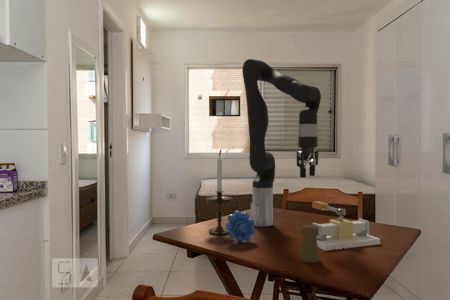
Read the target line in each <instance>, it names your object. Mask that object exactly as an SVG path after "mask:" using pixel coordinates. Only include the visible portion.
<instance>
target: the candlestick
mask: <svg viewBox="0 0 450 300" xmlns="http://www.w3.org/2000/svg"><path fill="white" fill-rule="evenodd" d="M221 154H222V149H220V150H219V153H218V159H217V160H216V161H217V163H216V164H217V167H216V169H217V172H216V174H217V175H216V176H217V177H216V178H217V180H216V181H217V182H216V183H217V186H216V189H217V190H216V191H214V193H216V195H214V196H207V197H206V202H208V203H214V204H216V205H217V212H216V218H217V219H216V222H217V226H216V227H213V228H209V229H208V234H209V235H211V236H227V235H229V231H231V230H228V229H227V228H226V227H223V226H222V222H223V219H222V217H223V216H224V213H223V212H222V205H223V204H225V203H226V204H227V203H231V202H233V197H232V196H225V195H223V193H224V192H225V191H223V188H222V187H223V185H222V184H223V159H222V158H221Z"/></svg>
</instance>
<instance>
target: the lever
mask: <svg viewBox="0 0 450 300" xmlns="http://www.w3.org/2000/svg"><path fill="white" fill-rule="evenodd" d="M311 205H312V206H311V207H312V208H313V209H316V210H320V211H330V212H334V213H336V215H337V216H339V215H343V216H346V214H347V213H346V208H341V207H340V208H337V207H333V206H329V203H326V202H324V201H319V200H317V201H316V200H314V201H313V200H312V202H311Z"/></svg>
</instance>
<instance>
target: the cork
mask: <svg viewBox="0 0 450 300" xmlns="http://www.w3.org/2000/svg"><path fill="white" fill-rule="evenodd" d="M301 234H302V242H301V250H300V256H299V259H300V261H302V262H305V263H318V262H320V255H319V254H320V253H319V248H318V246H317V238H316V236H317V234H318V228H317V227H316V226H314V225H312V224H304V225H302V227H301Z"/></svg>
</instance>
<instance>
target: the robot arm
mask: <svg viewBox="0 0 450 300" xmlns="http://www.w3.org/2000/svg"><path fill="white" fill-rule="evenodd" d="M241 72H242V78H243V84H244V89H245V90H244V91H245V97H246V108H247V111H246V113H247V120H248V135H249V165H250V168H251V169H252V171H253V172H254V173H256V176H255V177H254V179H253V180H252V202H251V203H250V219H253V220H254V222H255V225H254V226H255V227H261V228H263V227H271V226H273V224H274V222H273V221H274V219H273V217H274V211H273V210H274V208H273V207H274V203H273V202H274V200H273V199H274V198H273V197H274V191H273V190H274V182H275V176H276V159H275V156H274V155H273V153H271V152H269V151H266V144H265V139H266V134H267V131H268V127H269V111H268V107H267V103H266V101H265V99H264V97H263V96H262V94H261V92H260V88H259V83H258V82H265V83H268V84H270V85H273V86H274V87H275V89H277V90H278V91H280V92H282V93H284V94H285V95H288V96H290V97H291V98H293V99H294V100H295V101H297V102H299V103H301V104H304V107H303V108H304V109H302V110H300V111H299V113H298V115H299V116H298V131H297V132H298V136H297V137H298V138H297V139H298V140H297V141H298V143H297V144H298V145H297V146H298V148H300V149H301V150H297V151H296V167H298V168H299V176H300V178H304V179H305V178H307V177H306V176H307V168H306V167H307V165H309V167H308V170H309V171H308V175H309V176H310V177H315V176H316V167H317V166H318V165H319V151H318V150H315V148H318V133H319V131H318V112H319V108H320V104H321V99H322V98H321V97H322V95H321V90H320V89H319V88H318V87H317V86H313V85H307V84H305V83H302V82H300V81H299V80H298V79H296V78H294V77H292V76H289V75H287V74H285V73H282V72H279V71H278V70H276V69H274V68H273V67H272V66H270V65H269V64H268V63H266V62H265V61H262V60H259V59H254V58H247V59H245V61H244V62H243V64H242V71H241ZM254 226H253V227H254Z"/></svg>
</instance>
